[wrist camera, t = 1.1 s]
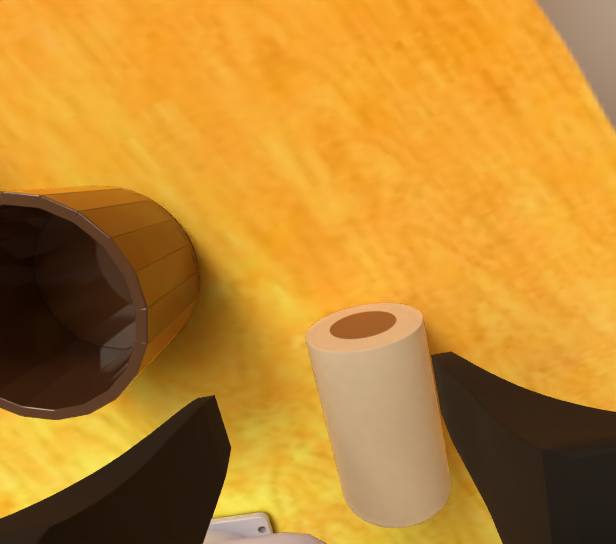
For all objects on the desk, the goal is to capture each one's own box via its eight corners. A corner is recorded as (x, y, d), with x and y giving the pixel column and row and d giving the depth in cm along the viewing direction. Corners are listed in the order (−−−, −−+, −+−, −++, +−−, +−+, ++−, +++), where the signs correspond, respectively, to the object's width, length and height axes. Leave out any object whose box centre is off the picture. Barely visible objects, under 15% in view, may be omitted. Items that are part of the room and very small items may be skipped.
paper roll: (432, 438, 24) (469, 516, 18) (339, 456, 24) (348, 538, 19) (406, 294, 22) (439, 334, 16) (305, 316, 22) (304, 362, 17)
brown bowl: (219, 335, 23) (177, 399, 16) (67, 365, 24) (-28, 435, 17) (170, 167, 21) (99, 166, 14) (5, 208, 22) (-129, 223, 15)
